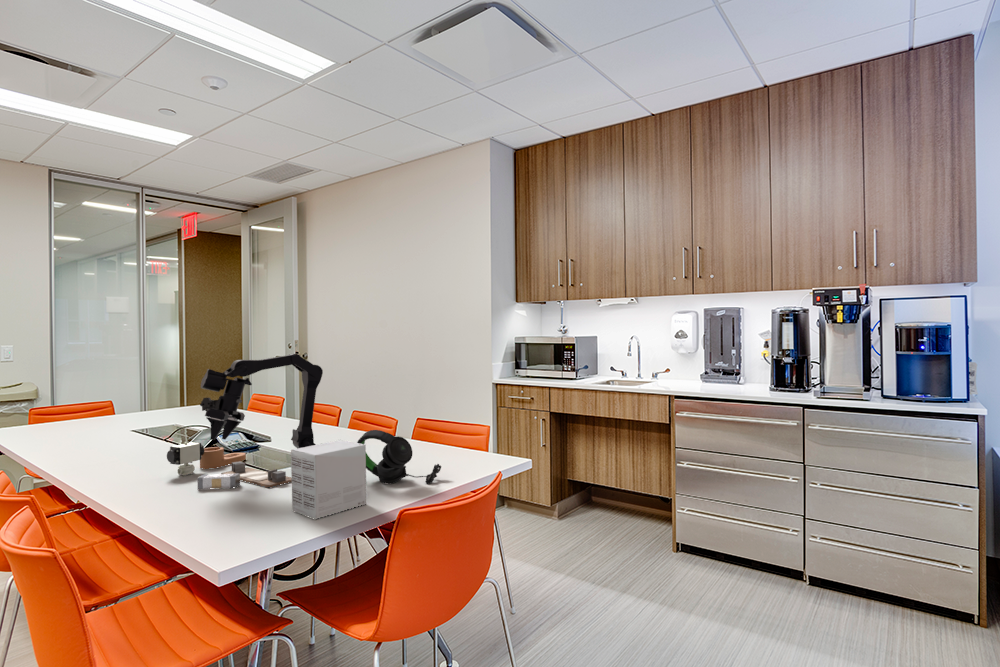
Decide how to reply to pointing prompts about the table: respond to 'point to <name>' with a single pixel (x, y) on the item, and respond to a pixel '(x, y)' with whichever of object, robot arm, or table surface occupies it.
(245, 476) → the stand
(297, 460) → the supplement box
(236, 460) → the bracket
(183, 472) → the pneumatic valve
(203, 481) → the steel coupler
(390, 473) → the headset
